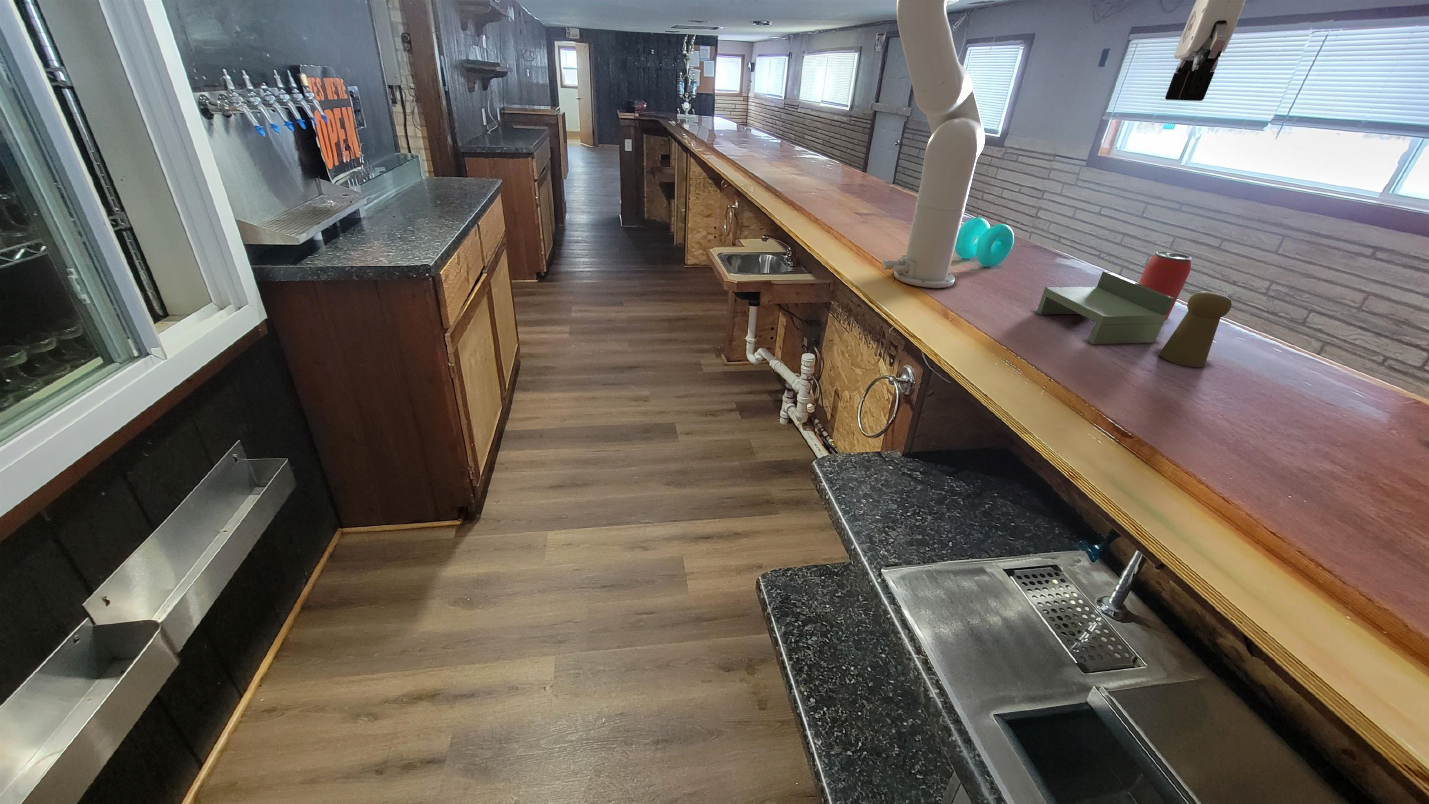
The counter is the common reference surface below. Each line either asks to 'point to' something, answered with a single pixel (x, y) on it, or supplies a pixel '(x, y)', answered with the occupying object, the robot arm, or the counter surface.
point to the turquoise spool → (984, 241)
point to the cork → (1196, 329)
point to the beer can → (1166, 274)
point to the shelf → (1112, 309)
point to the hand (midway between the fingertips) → (1182, 100)
